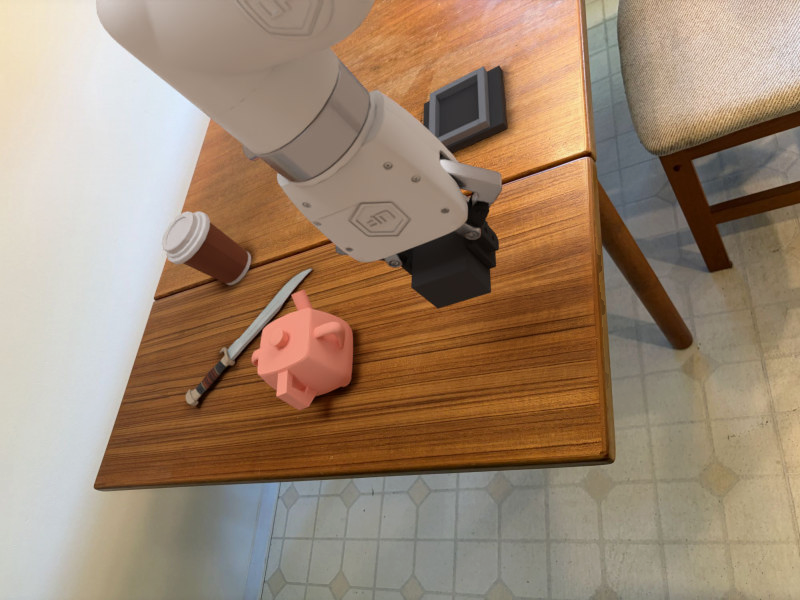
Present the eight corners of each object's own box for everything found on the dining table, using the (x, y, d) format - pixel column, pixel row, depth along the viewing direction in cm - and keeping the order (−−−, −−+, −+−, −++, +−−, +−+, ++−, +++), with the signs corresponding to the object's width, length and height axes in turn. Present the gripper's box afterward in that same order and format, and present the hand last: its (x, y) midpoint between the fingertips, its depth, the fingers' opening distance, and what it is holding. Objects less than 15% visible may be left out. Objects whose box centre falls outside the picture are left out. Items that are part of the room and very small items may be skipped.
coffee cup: (216, 266, 97) (156, 230, 89) (253, 234, 95) (195, 194, 86) (220, 302, 91) (156, 268, 83) (260, 270, 88) (198, 230, 80)
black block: (488, 222, 47) (464, 196, 45) (491, 293, 44) (466, 269, 41) (438, 241, 50) (413, 217, 47) (437, 309, 47) (410, 287, 44)
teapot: (334, 308, 74) (282, 274, 67) (383, 350, 65) (329, 316, 59) (282, 378, 74) (224, 351, 67) (324, 430, 65) (263, 404, 58)
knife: (301, 255, 82) (311, 269, 78) (309, 261, 83) (318, 275, 79) (182, 386, 84) (185, 406, 80) (191, 391, 85) (194, 411, 81)
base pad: (503, 71, 76) (495, 58, 74) (507, 128, 70) (499, 116, 68) (428, 109, 82) (419, 97, 80) (426, 164, 76) (417, 153, 75)
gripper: (211, 218, 37) (378, 327, 49) (429, 102, 28) (564, 272, 41) (233, 136, 41) (383, 257, 53) (430, 12, 32) (554, 193, 44)
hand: (460, 262), depth 47 cm, fingers closed on black block, 5 cm apart
